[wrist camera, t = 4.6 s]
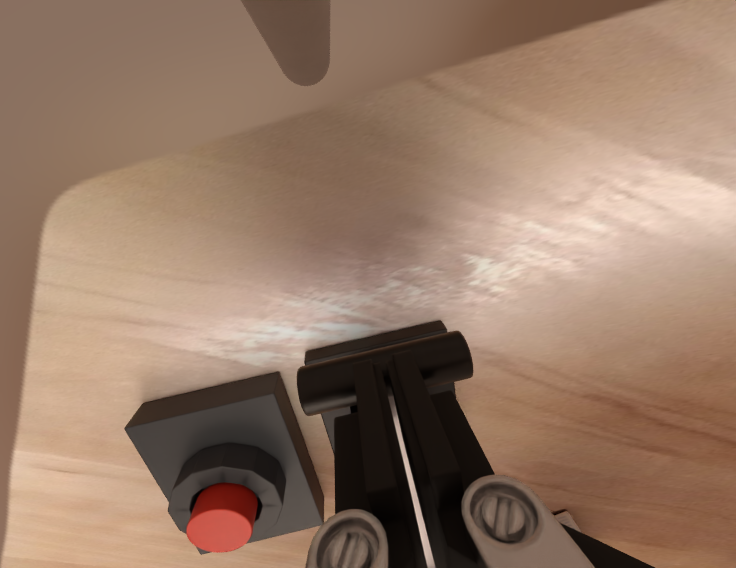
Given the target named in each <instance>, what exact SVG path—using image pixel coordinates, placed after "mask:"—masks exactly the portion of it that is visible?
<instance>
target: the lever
mask: <svg viewBox="0 0 736 568" xmlns="http://www.w3.org/2000/svg"><path fill="white" fill-rule="evenodd" d="M408 350H411V351H412V354H413V356H414V359H415V361H416V363H417V366H418V368H419V371H420V373H421V376H422V378H423V380H424V383H425V385H426V388H430V387H434V386H438V385H442V384H447V383H451V382H455V381H459V380H464V379H468V378H471V377H472V376H473V362H472V357H471V353H470V350H469V347H468V344H467V342H466V340H465V338H464V336H463V335H462V333H461V332H460V331H452V332H448V333H444V334H439V335H435V336H431V337H426V338H422V339H418V340H414V341H409V342H405V343H401V344H396V345H392V346H388V347H384V348H379V349H375V350H371V351H366V352H362V353H358V354H354V355H349V356H345V357H341V358H336V359H332V360H328V361H323V362H319V363H315V364H311V365H306V366H302V367H300V368H299V369H298V372H297V388H298V395H299V399H300V403H301V406H302V409H303V411H304V413H305V414H306V415H307V416H312V415H316V414H320V413H324V412H328V411H333V410H337V409H341V408H345V407H350V406H354V405H357V400H356V391H355V381H354V372H353V363H356V362H361V361H365V360H369V359H371V360H372V364H375V363H379V362H380V365H381V369H382V373H383V378H384V382H385V386H386V390H387V394H388V398H389V403H390V407H391V411H392V415H393V419H394V423H395V428H396V432H397V436H398V440H399V444H400V449H401V453H402V457H403V461H404V465H405V469H406V474H407V478H408V482H409V487H410V491H411V495H412V500H413V504H414V509H415V513H416V518H417V522H418V527H419V531H420V536H421V540H422V545H423V549H424V554H425V558H426V563H427V567H428V568H436V567H435V563H434V559H433V556H432V552H431V548H430V544H429V540H428V536H427V532H426V528H425V524H424V520H423V516H422V512H421V509H420V505H419V501H418V497H417V493H416V489H415V485H414V481H413V477H412V473H411V469H410V465H409V462H408V458H407V454H406V450H405V446H404V442H403V438H402V433H401V429H400V424H399V419H398V415H397V410H396V406H395V401H394V396H393V392H392V387H391V383H390V378H389V374H388V369H387V364H386V361H388V360H392V359H393V358H392V354H395V353H399V352H404V351H408Z"/></svg>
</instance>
